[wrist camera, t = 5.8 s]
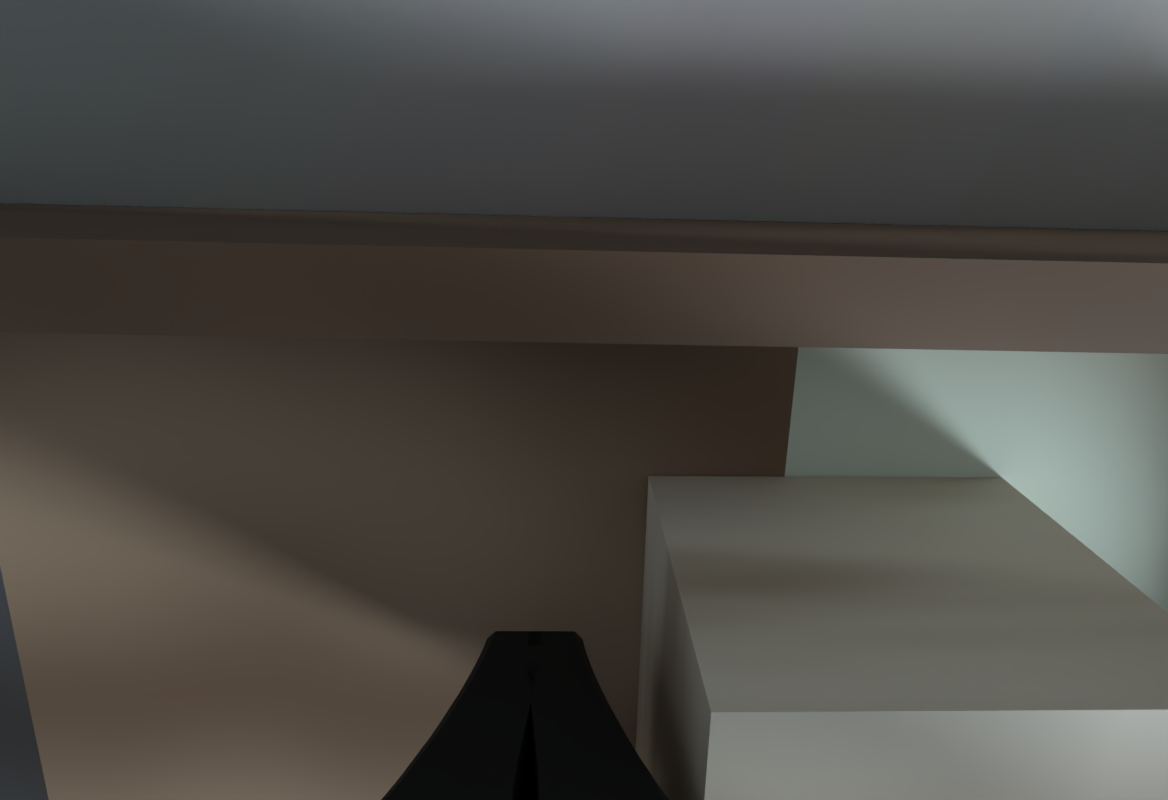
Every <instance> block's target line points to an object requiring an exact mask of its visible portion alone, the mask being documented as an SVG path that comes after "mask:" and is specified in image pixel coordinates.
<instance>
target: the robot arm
mask: <svg viewBox="0 0 1168 800" xmlns="http://www.w3.org/2000/svg"><path fill="white" fill-rule="evenodd" d="M381 800H669V799H668V798H667V796H666V795H665V794H664V792H663V791H662V789H661V788H660V787H659V785H658V784H657V782H656V781H655V779H654V778H653V776H652V775H651V773H650V772H649V770H648V769H647V767H646V766H645V764H644V763H643V761H642V760H641V758H640V757H639V755H638V754H637V752H636V750H635V749H634V747H633V746H632V744H631V742H630V741H629V739H628V737H627V736H626V734H625V732H624V730H623V729H622V727H621V725H620V723H619V721H618V720H617V718H616V716H615V714H614V713H613V711H612V709H611V707H610V705H609V703H608V701H607V699H606V697H605V695H604V693H603V691H602V689H601V687H600V685H599V683H598V681H597V678H596V676H595V674H594V672H593V669H592V667H591V664H590V662H589V659H588V656H587V653H586V650H585V647H584V643H583V639H582V638H581V637H580V636H579V635H578V634H577V633H576V632H575V631H495V632H494V633H493V634H492V635H491V636H489V637H488V638H487V640H486V643H485V645H484V648H483V650H482V652H481V654H480V656H479V658H478V660H477V662H476V664H475V666H474V668H473V670H472V672H471V673H470V675H469V677H468V679H467V680H466V682H465V684H464V686H463V687H462V689H461V691H460V692H459V694H458V696H457V697H456V699H455V700H454V702H453V703H452V705H451V706H450V708H449V710H448V711H447V713H446V714H445V716H444V717H443V719H442V720H441V722H440V723H439V725H438V726H437V728H436V729H435V731H434V732H433V734H432V735H431V737H430V738H429V739H428V741H427V742H426V743H425V745H424V746H423V747H422V749H421V750H420V751H419V753H418V754H417V755H416V757H415V758H414V759H413V761H412V762H411V763H410V764H409V766H408V767H407V768H406V770H405V771H404V772H403V774H402V775H401V776H400V778H399V779H398V780H397V781H396V783H395V784H394V785H393V786H392V787H391V789H390V790H389V791H388V792H387V793H386V795H385V796H384V797H383V798H382V799H381Z"/></svg>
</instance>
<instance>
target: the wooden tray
mask: <svg viewBox="0 0 1168 800" xmlns="http://www.w3.org/2000/svg"><path fill="white" fill-rule="evenodd" d="M648 476H773V477H991V478H1003V479H1004V480H1006V481H1007V482H1008V483H1009V484H1010V485H1012V486H1013V487H1014V488H1015V489H1017V490H1018V491H1019V492H1020V493H1021V494H1023V495H1024V496H1025V497H1026V498H1028V499H1029V500H1030V501H1031V502H1033V503H1034V504H1035V505H1036V506H1037V507H1039V508H1040V509H1041V510H1042V511H1044V512H1045V513H1046V514H1047V515H1048V516H1050V517H1051V518H1052V519H1053V520H1055V521H1056V522H1057V523H1058V524H1060V525H1061V526H1062V527H1063V528H1064V529H1066V530H1067V531H1068V532H1069V533H1071V534H1072V535H1073V536H1074V537H1075V538H1077V539H1078V540H1079V541H1080V542H1082V543H1083V544H1084V545H1085V546H1086V547H1088V548H1089V549H1090V550H1091V551H1093V552H1094V553H1095V554H1096V555H1098V556H1099V557H1100V558H1101V559H1102V560H1104V561H1105V562H1106V563H1107V564H1109V565H1110V566H1111V567H1112V568H1113V569H1115V570H1116V571H1117V572H1118V573H1120V574H1121V575H1122V576H1123V577H1125V578H1126V579H1127V580H1128V581H1129V582H1131V583H1132V584H1133V585H1134V586H1136V587H1137V588H1138V589H1139V590H1140V591H1142V592H1143V593H1144V594H1145V595H1147V596H1148V597H1149V598H1150V599H1152V600H1153V601H1154V602H1155V603H1156V604H1158V605H1159V606H1160V607H1161V608H1163V609H1164V610H1165V611H1166V612H1167V613H1168V231H1143V230H1101V229H1059V228H1016V227H974V226H932V225H889V224H847V223H805V222H762V221H720V220H678V219H635V218H593V217H551V216H508V215H466V214H424V213H382V212H339V211H297V210H255V209H212V208H170V207H128V206H85V205H43V204H1V203H0V800H381V799H382V798H383V797H384V796H385V795H386V793H387V792H388V791H389V790H390V789H391V787H392V786H393V785H394V784H395V783H396V781H397V780H398V779H399V778H400V776H401V775H402V774H403V772H404V771H405V770H406V768H407V767H408V766H409V764H410V763H411V762H412V761H413V759H414V758H415V757H416V755H417V754H418V753H419V751H420V750H421V749H422V747H423V746H424V745H425V743H426V742H427V741H428V739H429V738H430V737H431V735H432V734H433V732H434V731H435V729H436V728H437V726H438V725H439V723H440V722H441V720H442V719H443V717H444V716H445V714H446V713H447V711H448V710H449V708H450V706H451V705H452V703H453V702H454V700H455V699H456V697H457V696H458V694H459V692H460V691H461V689H462V687H463V686H464V684H465V682H466V680H467V679H468V677H469V675H470V673H471V672H472V670H473V668H474V666H475V664H476V662H477V660H478V658H479V656H480V654H481V652H482V650H483V648H484V645H485V643H486V640H487V638H488V637H489V636H491V635H492V634H493V633H494V632H495V631H575V632H576V633H577V634H578V635H579V636H580V637H581V638H582V639H583V643H584V647H585V650H586V653H587V656H588V659H589V662H590V664H591V667H592V669H593V672H594V674H595V676H596V678H597V681H598V683H599V685H600V687H601V689H602V691H603V693H604V695H605V697H606V699H607V701H608V703H609V705H610V707H611V709H612V711H613V713H614V714H615V716H616V718H617V720H618V721H619V723H620V725H621V727H622V729H623V730H624V732H625V734H626V736H627V737H628V739H629V741H630V742H631V744H632V746H633V747H634V749H635V750H636V730H637V709H638V688H639V667H640V645H641V624H642V603H643V582H644V561H645V540H646V518H647V497H648Z"/></svg>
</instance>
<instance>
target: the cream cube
mask: <svg viewBox="0 0 1168 800" xmlns="http://www.w3.org/2000/svg"><path fill="white" fill-rule="evenodd" d="M636 752H637V754H638V755H639V757H640V758H641V760H642V761H643V763H644V764H645V766H646V767H647V769H648V770H649V772H650V773H651V775H652V776H653V778H654V779H655V781H656V782H657V784H658V785H659V787H660V788H661V789H662V791H663V792H664V794H665V795H666V796H667V798H668V799H669V800H1168V613H1167V612H1166V611H1165V610H1164V609H1163V608H1161V607H1160V606H1159V605H1158V604H1156V603H1155V602H1154V601H1153V600H1152V599H1150V598H1149V597H1148V596H1147V595H1145V594H1144V593H1143V592H1142V591H1140V590H1139V589H1138V588H1137V587H1136V586H1134V585H1133V584H1132V583H1131V582H1129V581H1128V580H1127V579H1126V578H1125V577H1123V576H1122V575H1121V574H1120V573H1118V572H1117V571H1116V570H1115V569H1113V568H1112V567H1111V566H1110V565H1109V564H1107V563H1106V562H1105V561H1104V560H1102V559H1101V558H1100V557H1099V556H1098V555H1096V554H1095V553H1094V552H1093V551H1091V550H1090V549H1089V548H1088V547H1086V546H1085V545H1084V544H1083V543H1082V542H1080V541H1079V540H1078V539H1077V538H1075V537H1074V536H1073V535H1072V534H1071V533H1069V532H1068V531H1067V530H1066V529H1064V528H1063V527H1062V526H1061V525H1060V524H1058V523H1057V522H1056V521H1055V520H1053V519H1052V518H1051V517H1050V516H1048V515H1047V514H1046V513H1045V512H1044V511H1042V510H1041V509H1040V508H1039V507H1037V506H1036V505H1035V504H1034V503H1033V502H1031V501H1030V500H1029V499H1028V498H1026V497H1025V496H1024V495H1023V494H1021V493H1020V492H1019V491H1018V490H1017V489H1015V488H1014V487H1013V486H1012V485H1010V484H1009V483H1008V482H1007V481H1006V480H1004V479H1003V478H991V477H773V476H648V497H647V518H646V540H645V561H644V582H643V603H642V624H641V645H640V667H639V688H638V709H637V730H636Z"/></svg>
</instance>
